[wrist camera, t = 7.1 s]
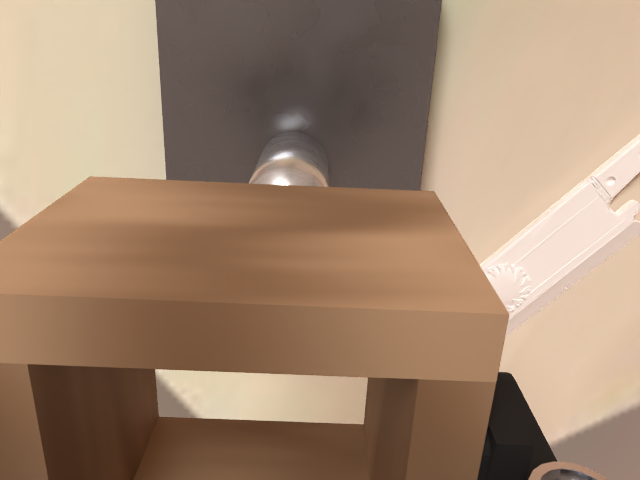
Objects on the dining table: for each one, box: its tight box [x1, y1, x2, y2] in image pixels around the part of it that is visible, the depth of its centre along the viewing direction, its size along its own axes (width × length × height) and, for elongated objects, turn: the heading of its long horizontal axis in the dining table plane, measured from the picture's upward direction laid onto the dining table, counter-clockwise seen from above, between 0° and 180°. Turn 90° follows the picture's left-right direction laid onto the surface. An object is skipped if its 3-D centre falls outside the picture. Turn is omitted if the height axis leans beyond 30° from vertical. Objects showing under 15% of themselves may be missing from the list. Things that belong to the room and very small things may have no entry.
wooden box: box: [0, 177, 510, 480], centre depth 10 cm, size 7×7×5 cm
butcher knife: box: [480, 134, 640, 337], centre depth 29 cm, size 5×15×1 cm, turn 134°
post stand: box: [155, 0, 442, 191], centre depth 24 cm, size 12×16×8 cm
